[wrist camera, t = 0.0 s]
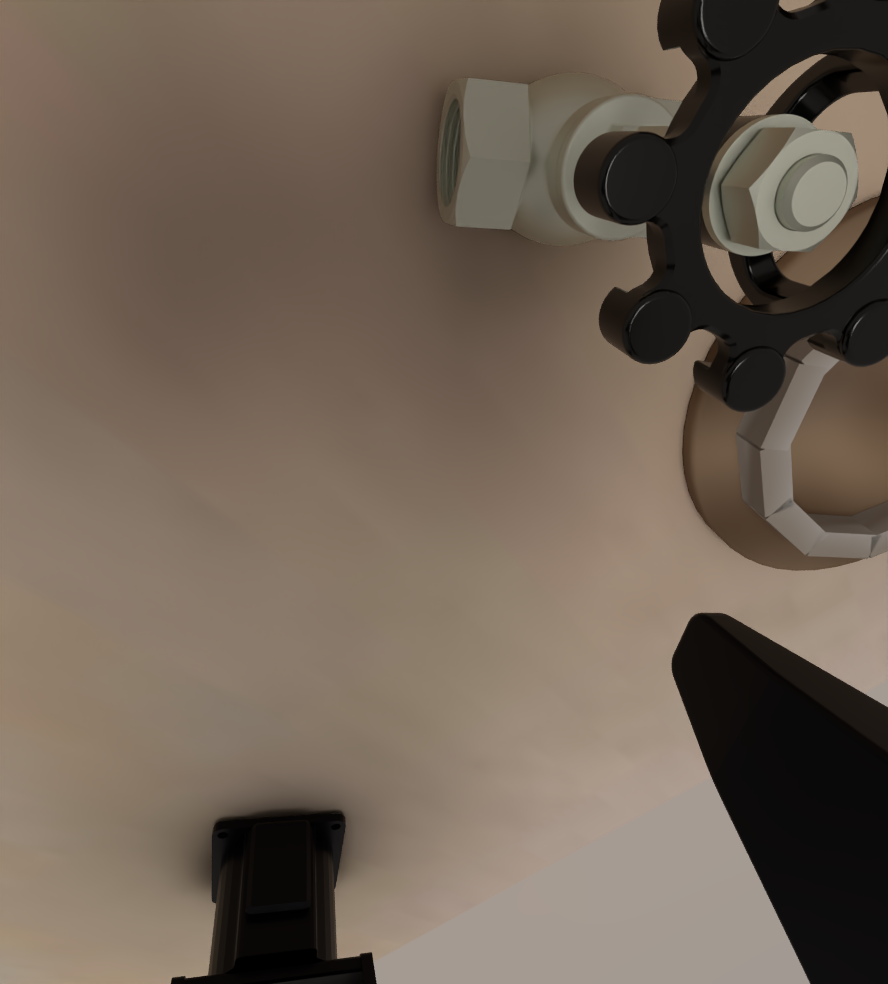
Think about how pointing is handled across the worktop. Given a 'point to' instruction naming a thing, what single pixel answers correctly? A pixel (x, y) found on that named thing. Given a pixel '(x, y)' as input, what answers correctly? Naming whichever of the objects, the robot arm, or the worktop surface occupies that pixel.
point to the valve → (696, 185)
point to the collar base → (798, 447)
